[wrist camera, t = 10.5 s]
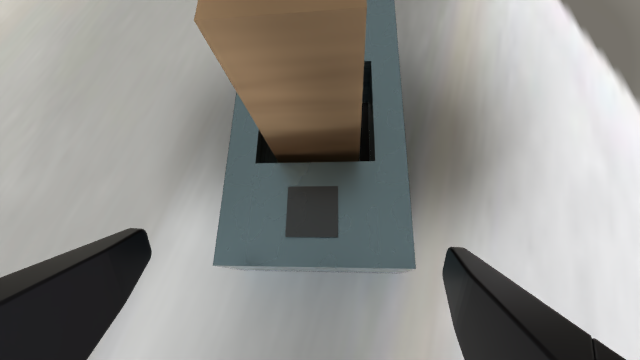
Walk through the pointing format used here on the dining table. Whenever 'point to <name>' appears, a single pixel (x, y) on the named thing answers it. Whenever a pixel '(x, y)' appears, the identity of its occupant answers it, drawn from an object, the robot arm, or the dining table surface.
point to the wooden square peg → (294, 70)
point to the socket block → (325, 186)
